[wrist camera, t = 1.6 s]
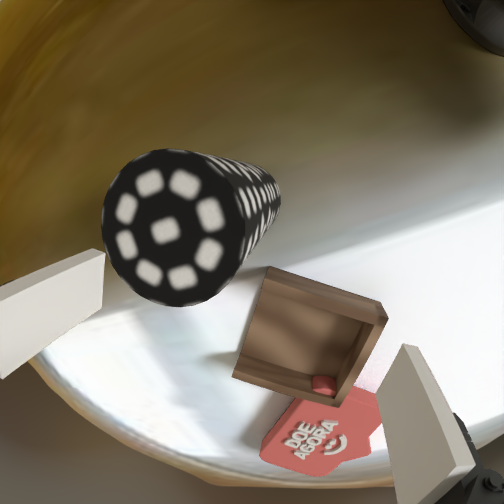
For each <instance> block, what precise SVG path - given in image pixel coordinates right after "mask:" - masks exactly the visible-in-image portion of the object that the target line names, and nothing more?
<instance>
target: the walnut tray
mask: <svg viewBox="0 0 504 504" xmlns="http://www.w3.org/2000/svg"><path fill="white" fill-rule="evenodd" d="M261 289H262V290H261V294H260V297H259V300H258V303H257V306H256V309H255V312H254V315H253V318H252V321H251V324H250V327H249V330H248V333H247V336H246V339H245V342H244V345H243V347H242V350H241V353H240V356H239V358H238V361H237V363H236V366H235V368H234V371H233V374H232V377H233V378H236V379H239V380H241V381H244V382H247V383H251V384H254V385H257V386H260V387H263V388H266V389H269V390H273V391H276V392H279V393H283V394H286V395H290V396H293V397H297V398H300V399H304V400H308V401H312V402H316V403H319V404H323V405H328V406H332V407H336V408H339V407H340V406H341V404H342V403H343V401H344V399H345V398H346V396H347V395H348V393H349V391H350V390H351V388H352V386H353V384H354V383H355V381H356V379H357V378H358V376H359V374H360V372H361V371H362V369H363V367H364V365H365V363H366V362H367V360H368V358H369V356H370V354H371V352H372V350H373V349H374V347H375V345H376V343H377V341H378V339H379V337H380V335H381V333H382V331H383V329H384V327H385V325H386V323H387V321H388V319H389V318H388V316H387V314H386V312H385V310H384V308H383V306H382V304H381V302H378V301H375V300H372V299H369V298H366V297H363V296H360V295H357V294H354V293H351V292H348V291H345V290H342V289H338V288H335V287H332V286H329V285H326V284H323V283H320V282H317V281H314V280H311V279H308V278H305V277H302V276H299V275H296V274H293V273H290V272H287V271H284V270H281V269H278V268H275V267H272V266H269V269H268V271H267V273H266V276H265V278H264V281H263V284H262V287H261ZM315 376H329V377H331V378H334V379H335V382H336V394H335V396H331V395H327V394H323V393H319V392H315V391H313V390H312V381H313V377H315Z"/></svg>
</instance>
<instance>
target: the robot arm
mask: <svg viewBox="0 0 504 504" xmlns="http://www.w3.org/2000/svg"><path fill="white" fill-rule="evenodd" d="M443 1H444V3H445V5H446V7H447V9H448V10H449V12H450V14H451V15H452V16H453V18H454V19H455V20H456V22H457V23H458V24H459V25H460V27H461V28H462V29H463V30H464V31H465V32H466V33H467V34H468V35H469V36H470V37H471V38H473V39H474V40H475V41H476V42H477V43H479V44H480V45H481V46H483V47H484V48H486V49H488V50H489V51H491V52H493V53H495V54H498V55H501V56H504V0H443ZM104 263H105V253H104V252H101V251H99V250H96V249H93V248H92V249H89V250H87V251H84V252H82V253H79V254H76V255H74V256H71V257H69V258H66V259H64V260H61V261H59V262H57V263H54V264H52V265H49V266H47V267H44V268H42V269H40V270H37V271H35V272H33V273H30V274H28V275H26V276H23V277H21V278H19V279H15V280H12V281H9V282H7V283H5V284H3V286H2V285H0V378H2V379H3V378H4V377H6V376H7V375H9V374H10V373H11V372H13V371H14V370H15V369H16V368H18V367H19V366H21V365H22V364H23V363H25V362H26V361H27V360H29V359H30V358H31V357H33V356H34V355H36V354H37V353H38V352H40V351H41V350H42V349H44V348H45V347H47V346H48V345H49V344H51V343H52V342H54V341H55V340H56V339H58V338H59V337H60V336H62V335H63V334H65V333H66V332H68V331H69V330H70V329H72V328H73V327H75V326H76V325H77V324H79V323H80V322H82V321H83V320H85V319H86V318H87V317H89V316H90V315H92V314H93V313H95V312H96V311H98V310H99V309H101V308H102V292H103V276H104ZM375 395H376V399H377V403H378V407H379V411H380V415H381V420H382V424H383V428H384V433H385V438H386V442H387V447H388V452H389V457H390V462H391V467H392V472H393V478H394V484H395V489H396V495H397V501H398V504H504V479H503V477H502V476H501V475H500V474H499V473H498V472H496V471H494V470H491V469H484V466H483V464H482V462H481V459H480V457H479V455H478V453H477V450H476V448H475V446H474V444H473V442H471V441H472V440H471V437H470V435H469V434H468V431H467V429H466V427H465V425H464V423H463V421H462V420H461V419H460V418H459V417H458V416H457V415H456V414H455V413H452V411H451V409H450V407H449V405H448V403H447V401H446V399H445V397H444V395H443V393H442V391H441V389H440V387H439V385H438V383H437V381H436V379H435V378H434V376H433V374H432V372H431V370H430V368H429V366H428V365H427V363H426V361H425V359H424V357H423V356H422V354H421V352H420V350H419V348H418V347H416V346H412V345H408V344H402V346H401V348H400V350H399V352H398V354H397V356H396V358H395V360H394V361H393V363H392V365H391V367H390V369H389V371H388V373H387V374H386V376H385V378H384V380H383V381H382V383H381V385H380V387H379V388H378V390H377V392H376V394H375Z"/></svg>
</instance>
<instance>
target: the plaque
mask: <svg viewBox="0 0 504 504" xmlns="http://www.w3.org/2000/svg"><path fill="white" fill-rule="evenodd" d="M312 390H313V391H315V392H319V393H323V394H327V395H331V396H335V394H336V382H335V379H334V378H331V377H329V376H315V377H313V381H312ZM381 423H382V420H381V415H380V411H379V407H378V403H377V399H376V395H375V394H374V393H371V392H368V391H366V390H363V389H360V388H357V387H355V386H352V388H351V390H350V391H349V393H348V395H347V396H346V398H345V399H344V401H343V403H342V404H341V406H340V407H339V408H336V407H332V406H328V405H323V404H319V403H316V402H312V401H308V400H304V399H300V398H297V397H296V398H295V399H294V401H293V402H292V403H291V405H290V406H289V407H288V409H287V410H286V411H285V413H284V414H283V415H282V416H281V418H280V419H279V420H278V422H277V423H276V424H275V425H274V427H273V428H272V429H271V430H270V432H269V433H268V434H267V435H266V437H265V438H264V439H263V441H262V445H261V449H260V455H259V456H260V457H261V459H262V460H264V461H265V462H268V463H271V464H274V465H277V466H280V467H283V468H286V469H289V470H293V471H296V472H299V473H303V474H306V475H310V476H315V477H317V476H325V475H327V474H329V473H330V472H331V471H332V470H334V469H335V468H336V467H337V466H338V465H339V464H340V463H342V462H344V461H348V460H352V459H356V458H360V457H364V456H367V455H369V454H370V453H371V447H370V440H369V436H370V435H371V434H372V433H373V432H374V431H375V430H376V428H377V427H378V426H379V425H380V424H381Z"/></svg>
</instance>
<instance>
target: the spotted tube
mask: <svg viewBox="0 0 504 504" xmlns="http://www.w3.org/2000/svg"><path fill="white" fill-rule="evenodd" d="M280 204H281V203H280V192H279V188H278V186H277V184H276V182H275V180H274V179H273V177H272V176H271V175H270V174H269V173H268V172H267V171H266V170H264V169H262V168H261V167H259V166H256V165H254V164H249V163H245V162H241V161H236V160H231V159H227V158H222V157H217V156H212V155H207V154H202V153H197V152H192V151H186V150H179V149H169V148H168V149H160V150H153V151H150V152H148V153H145V154H142V155H140V156H138V157H137V158H135V159H134V160H132V161H131V162H129V163H128V164H127V165H126V166H125V167H124V168H123V169H122V170H121V171H120V172H119V173H118V174H117V176H116V177H115V179H114V180H113V182H112V183H111V185H110V187H109V189H108V192H107V194H106V196H105V200H104V204H103V209H102V220H101V228H102V237H103V242H104V246H105V249H106V253H107V255H108V257H109V260H110V262H111V264H112V266H113V267H114V269H115V270H116V272H117V273H118V275H119V276H120V278H121V279H122V280H123V281H124V282H125V283H126V284H127V285H128V286H129V287H130V288H131V289H132V290H133V291H135V292H136V293H137V294H139V295H140V296H142V297H144V298H146V299H148V300H150V301H152V302H154V303H157V304H161V305H164V306H171V307H185V306H193V305H196V304H199V303H202V302H205V301H207V300H209V299H210V298H212V297H213V296H215V295H217V294H218V293H219V292H220V291H221V290H222V289H223V288H224V287H225V286H226V285H227V284H228V283H229V282H230V281H231V279H232V278H233V277H234V275H235V274H236V273H237V271H238V270H239V269H240V267H241V266H242V264H243V263H244V262H245V260H246V259H247V258H248V256H249V255H250V254H251V252H252V251H253V249H254V248H255V247H256V245H257V244H258V243H259V241H260V240H261V238H262V237H263V236H264V234H265V233H266V232H267V230H268V229H269V228H270V226H271V225H272V223H273V222H274V220H275V219H276V217H277V215H278V212H279V209H280Z"/></svg>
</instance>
